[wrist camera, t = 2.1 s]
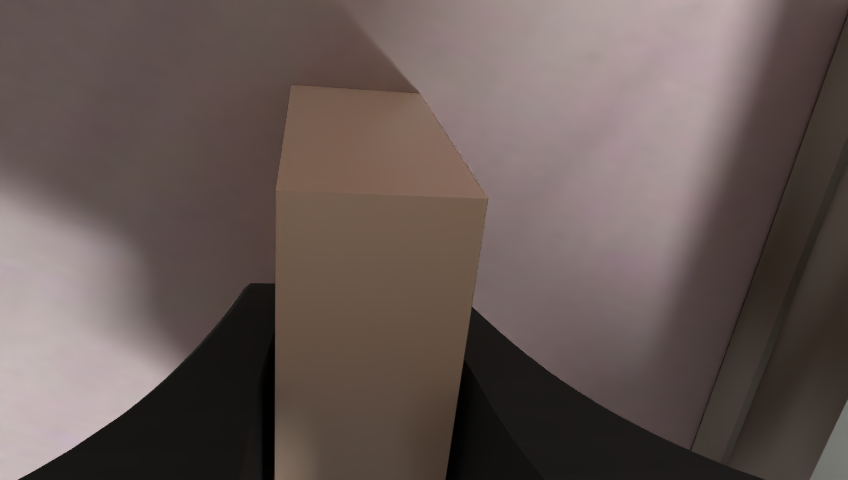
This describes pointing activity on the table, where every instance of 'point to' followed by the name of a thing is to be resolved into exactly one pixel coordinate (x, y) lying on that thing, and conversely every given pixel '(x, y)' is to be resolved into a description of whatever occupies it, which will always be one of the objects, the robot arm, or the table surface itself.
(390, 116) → the tan rectangular block
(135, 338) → the table surface
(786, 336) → the shallow rectangular tray
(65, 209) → the table surface
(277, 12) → the table surface
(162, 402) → the robot arm
